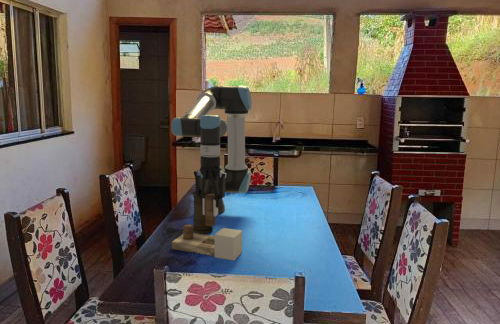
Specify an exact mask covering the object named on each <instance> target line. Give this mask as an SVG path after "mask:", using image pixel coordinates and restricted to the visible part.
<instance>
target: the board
mask: <svg viewBox="0 0 500 324" xmlns="http://www.w3.org/2000/svg"><path fill="white" fill-rule="evenodd" d="M193 225H194V224H185V225H183V226H182V233H183V234H181V235H180V236H178V237H177V238H175V239H174V240H173V241H171V249H172V250H177V251H183V252H188V253H193V252H195V253H194V254H199V253H200V254H201V255H205V254H206V255H207V256H214V257H215V235H211V234H210V235H209V234H198V233H194V232H193ZM206 255H205V256H206Z"/></svg>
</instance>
